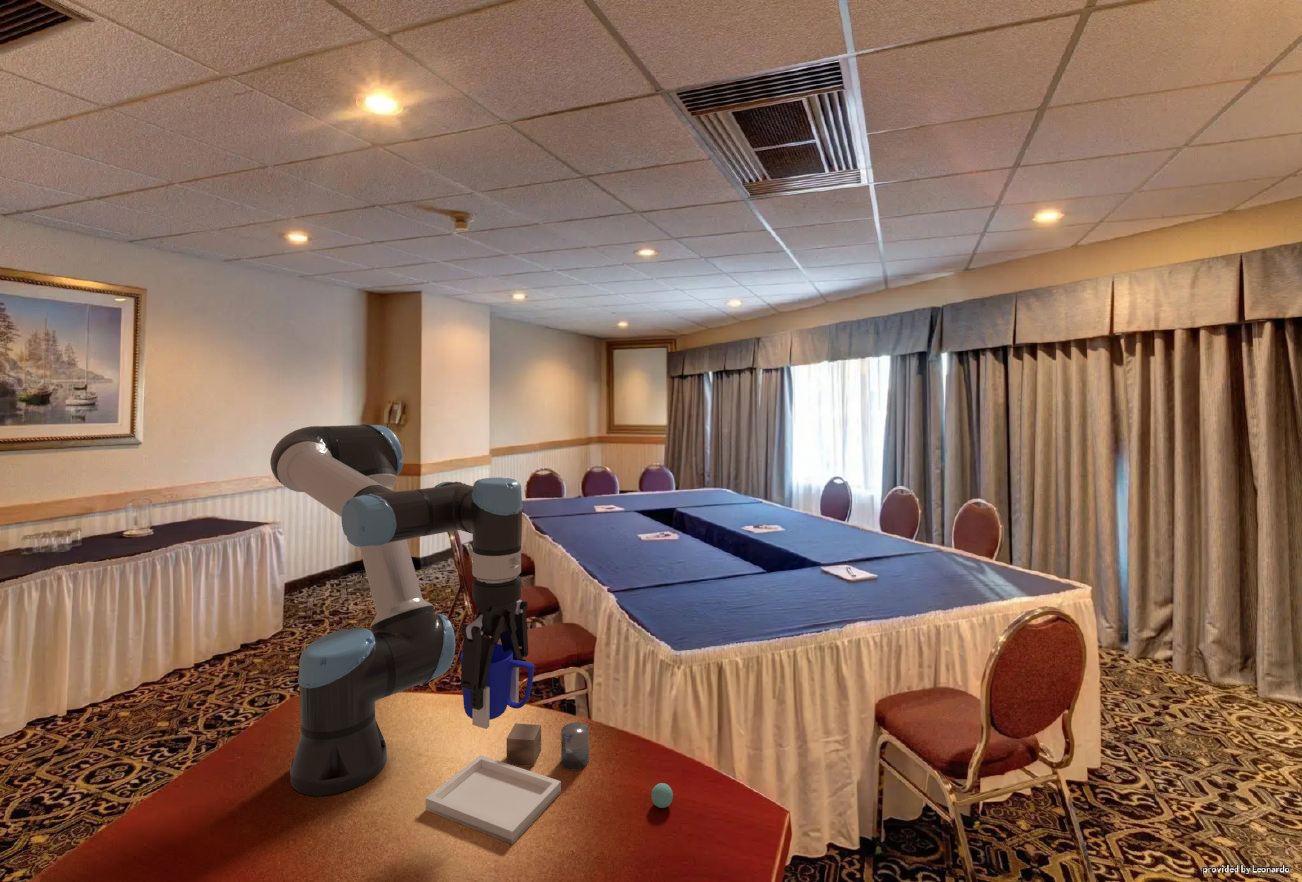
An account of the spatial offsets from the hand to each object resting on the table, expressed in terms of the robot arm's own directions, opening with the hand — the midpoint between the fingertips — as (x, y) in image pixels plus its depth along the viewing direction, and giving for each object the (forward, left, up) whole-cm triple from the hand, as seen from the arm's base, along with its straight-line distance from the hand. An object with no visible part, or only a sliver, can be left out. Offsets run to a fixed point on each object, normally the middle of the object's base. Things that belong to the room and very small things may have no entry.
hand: (496, 713), depth 99 cm
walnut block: (-3, +12, -15) cm, 19 cm away
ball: (+25, +11, -15) cm, 31 cm away
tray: (0, 0, -15) cm, 15 cm away
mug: (0, 0, 0) cm, 1 cm away
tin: (+6, +15, -15) cm, 22 cm away
